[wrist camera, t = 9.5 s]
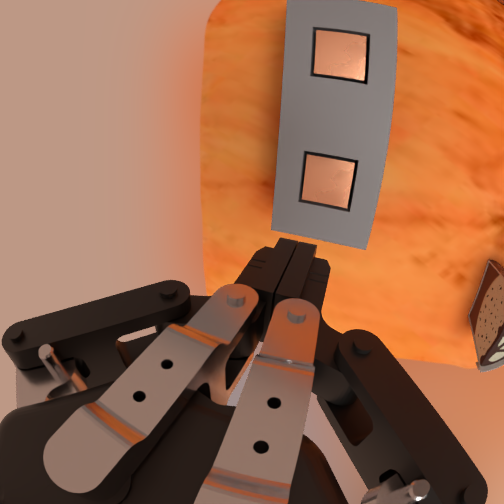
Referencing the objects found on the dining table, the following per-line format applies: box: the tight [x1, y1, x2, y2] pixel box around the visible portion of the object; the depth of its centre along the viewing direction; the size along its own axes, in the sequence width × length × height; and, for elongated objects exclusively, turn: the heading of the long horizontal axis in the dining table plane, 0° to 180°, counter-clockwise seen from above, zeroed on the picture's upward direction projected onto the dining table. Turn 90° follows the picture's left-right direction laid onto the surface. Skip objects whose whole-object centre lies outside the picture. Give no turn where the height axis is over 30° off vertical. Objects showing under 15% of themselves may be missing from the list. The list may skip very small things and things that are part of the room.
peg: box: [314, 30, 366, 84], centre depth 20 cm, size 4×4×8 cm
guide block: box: [271, 0, 397, 250], centre depth 23 cm, size 22×9×8 cm, turn 177°
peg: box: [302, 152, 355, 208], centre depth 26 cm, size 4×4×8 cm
